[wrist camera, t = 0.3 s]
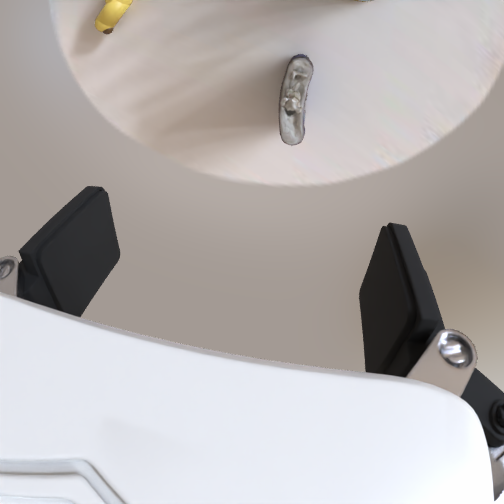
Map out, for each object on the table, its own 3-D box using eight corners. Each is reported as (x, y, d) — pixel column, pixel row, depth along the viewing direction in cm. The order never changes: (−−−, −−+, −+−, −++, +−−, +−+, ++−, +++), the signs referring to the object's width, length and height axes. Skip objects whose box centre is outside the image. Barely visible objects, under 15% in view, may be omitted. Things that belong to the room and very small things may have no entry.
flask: (303, 126, 37) (302, 154, 28) (280, 123, 37) (270, 149, 28) (313, 55, 31) (315, 57, 23) (288, 52, 31) (280, 52, 23)
